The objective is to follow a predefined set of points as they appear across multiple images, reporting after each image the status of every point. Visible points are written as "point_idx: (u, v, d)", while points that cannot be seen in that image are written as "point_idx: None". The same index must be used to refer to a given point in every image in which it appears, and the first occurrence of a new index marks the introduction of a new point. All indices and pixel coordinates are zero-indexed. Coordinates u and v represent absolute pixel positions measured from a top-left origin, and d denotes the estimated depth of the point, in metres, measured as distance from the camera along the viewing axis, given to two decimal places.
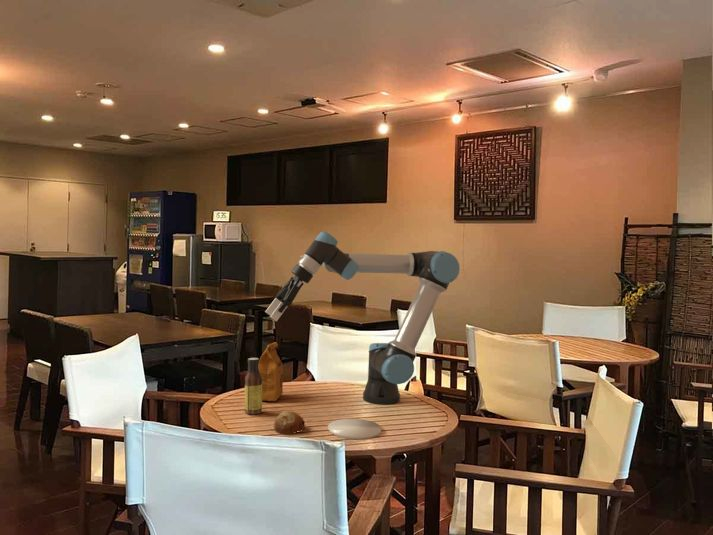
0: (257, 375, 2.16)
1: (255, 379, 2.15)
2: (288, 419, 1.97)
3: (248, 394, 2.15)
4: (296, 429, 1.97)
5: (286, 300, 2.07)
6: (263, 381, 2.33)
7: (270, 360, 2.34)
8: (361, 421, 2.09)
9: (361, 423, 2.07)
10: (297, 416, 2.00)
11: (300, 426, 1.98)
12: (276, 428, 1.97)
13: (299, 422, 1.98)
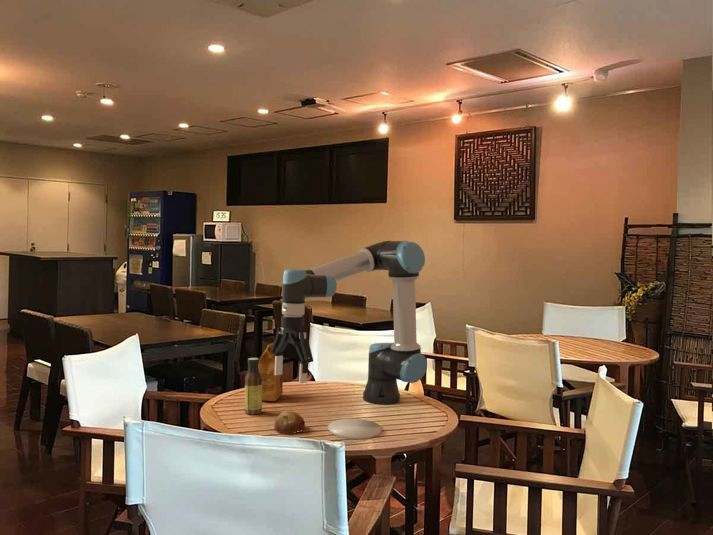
0: (257, 375, 2.16)
1: (255, 379, 2.15)
2: (288, 419, 1.97)
3: (248, 394, 2.15)
4: (296, 429, 1.97)
5: (308, 360, 1.92)
6: (263, 381, 2.33)
7: (270, 360, 2.34)
8: (361, 421, 2.09)
9: (361, 423, 2.07)
10: (297, 416, 2.00)
11: (300, 426, 1.98)
12: (276, 428, 1.97)
13: (299, 422, 1.98)
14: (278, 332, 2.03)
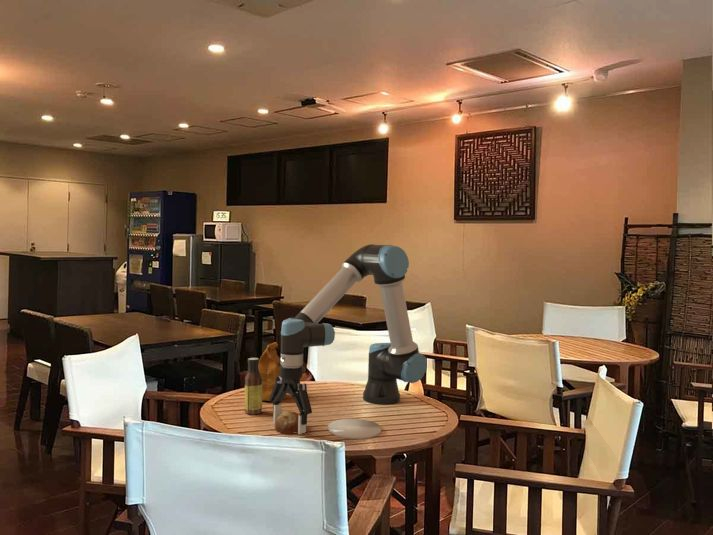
0: (257, 375, 2.16)
1: (255, 379, 2.15)
2: (289, 419, 1.97)
3: (248, 394, 2.15)
4: (296, 429, 1.97)
5: (307, 412, 1.93)
6: (263, 381, 2.33)
7: (270, 360, 2.34)
8: (361, 421, 2.09)
9: (361, 423, 2.07)
10: (298, 416, 2.00)
11: None
12: (277, 428, 1.97)
13: None
14: (277, 381, 2.04)
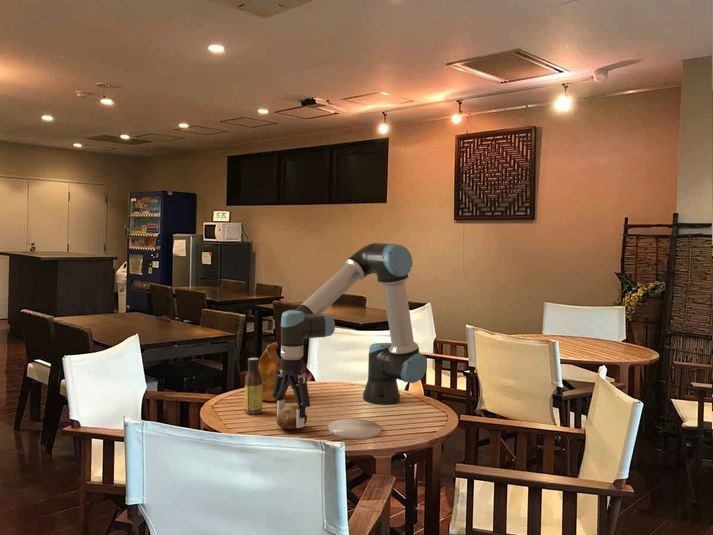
0: (257, 375, 2.16)
1: (255, 379, 2.15)
2: (290, 413, 1.98)
3: (248, 394, 2.15)
4: None
5: (305, 406, 1.94)
6: (263, 381, 2.33)
7: (270, 360, 2.34)
8: (361, 421, 2.09)
9: (361, 423, 2.07)
10: None
11: None
12: (279, 422, 1.98)
13: None
14: (278, 375, 2.04)
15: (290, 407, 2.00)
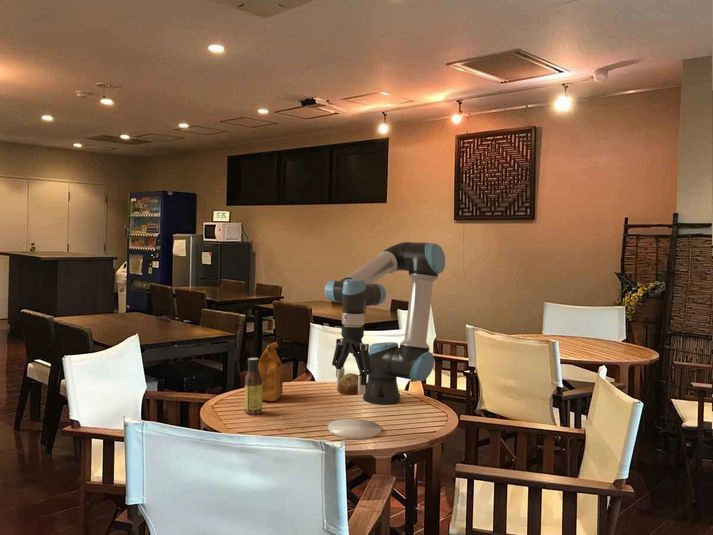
0: (257, 375, 2.16)
1: (255, 379, 2.15)
2: (351, 380, 1.99)
3: (248, 394, 2.15)
4: None
5: (367, 372, 1.95)
6: (263, 381, 2.33)
7: (270, 360, 2.34)
8: (361, 421, 2.09)
9: (361, 423, 2.07)
10: None
11: None
12: (340, 389, 1.99)
13: None
14: (338, 343, 2.05)
15: (351, 375, 2.01)
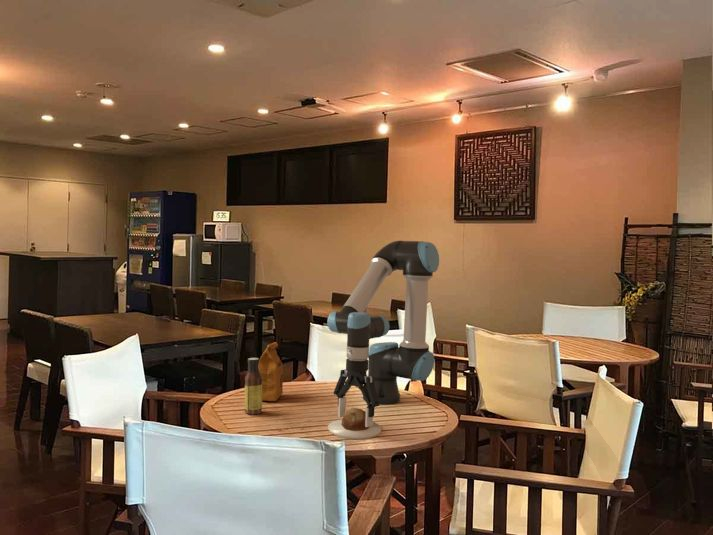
0: (257, 375, 2.16)
1: (255, 379, 2.15)
2: (356, 415, 1.99)
3: (248, 394, 2.15)
4: (364, 425, 1.99)
5: (375, 405, 1.94)
6: (263, 381, 2.33)
7: (270, 360, 2.34)
8: None
9: None
10: (364, 413, 2.02)
11: None
12: (344, 425, 1.99)
13: None
14: (342, 374, 2.05)
15: (355, 409, 2.02)
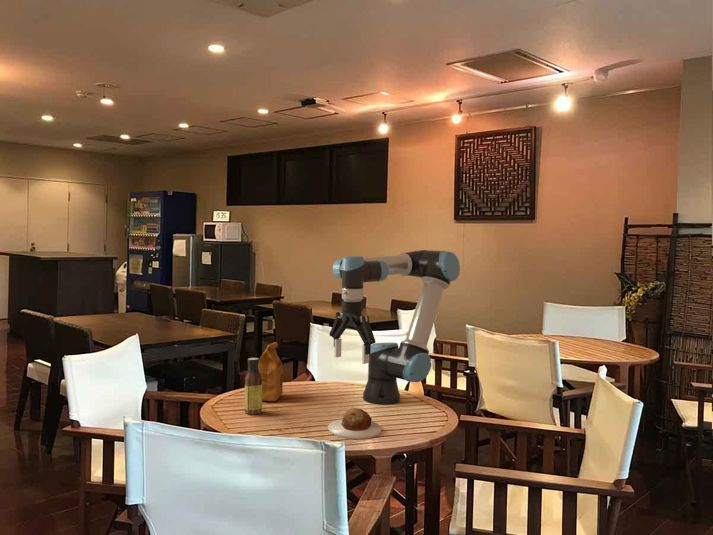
0: (257, 375, 2.16)
1: (255, 379, 2.15)
2: (356, 415, 1.99)
3: (248, 394, 2.15)
4: (364, 425, 1.99)
5: (371, 342, 2.03)
6: (263, 381, 2.33)
7: (270, 360, 2.34)
8: None
9: None
10: (365, 413, 2.02)
11: (368, 423, 2.00)
12: (345, 425, 1.99)
13: (367, 419, 2.00)
14: (337, 316, 2.13)
15: (355, 409, 2.02)
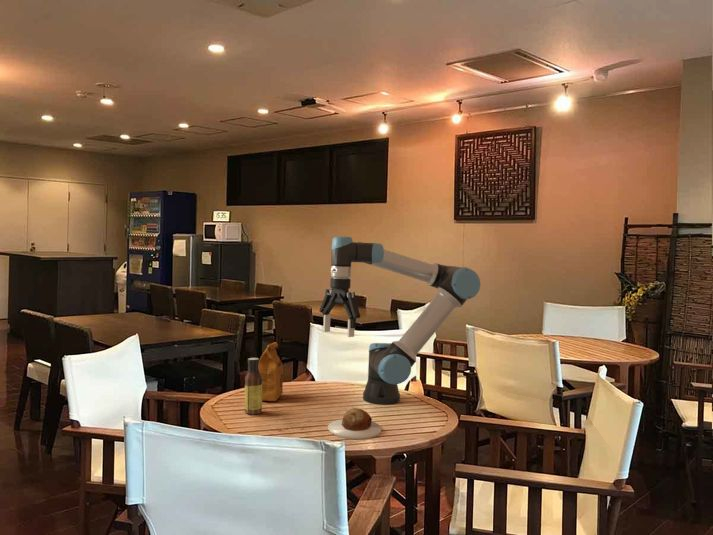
0: (257, 375, 2.16)
1: (255, 379, 2.15)
2: (356, 415, 1.99)
3: (248, 394, 2.15)
4: (364, 425, 1.99)
5: (356, 316, 2.17)
6: (263, 381, 2.33)
7: (270, 360, 2.34)
8: None
9: None
10: (365, 413, 2.02)
11: (368, 423, 2.00)
12: (345, 425, 1.99)
13: (367, 419, 2.00)
14: (327, 293, 2.28)
15: (355, 409, 2.02)
